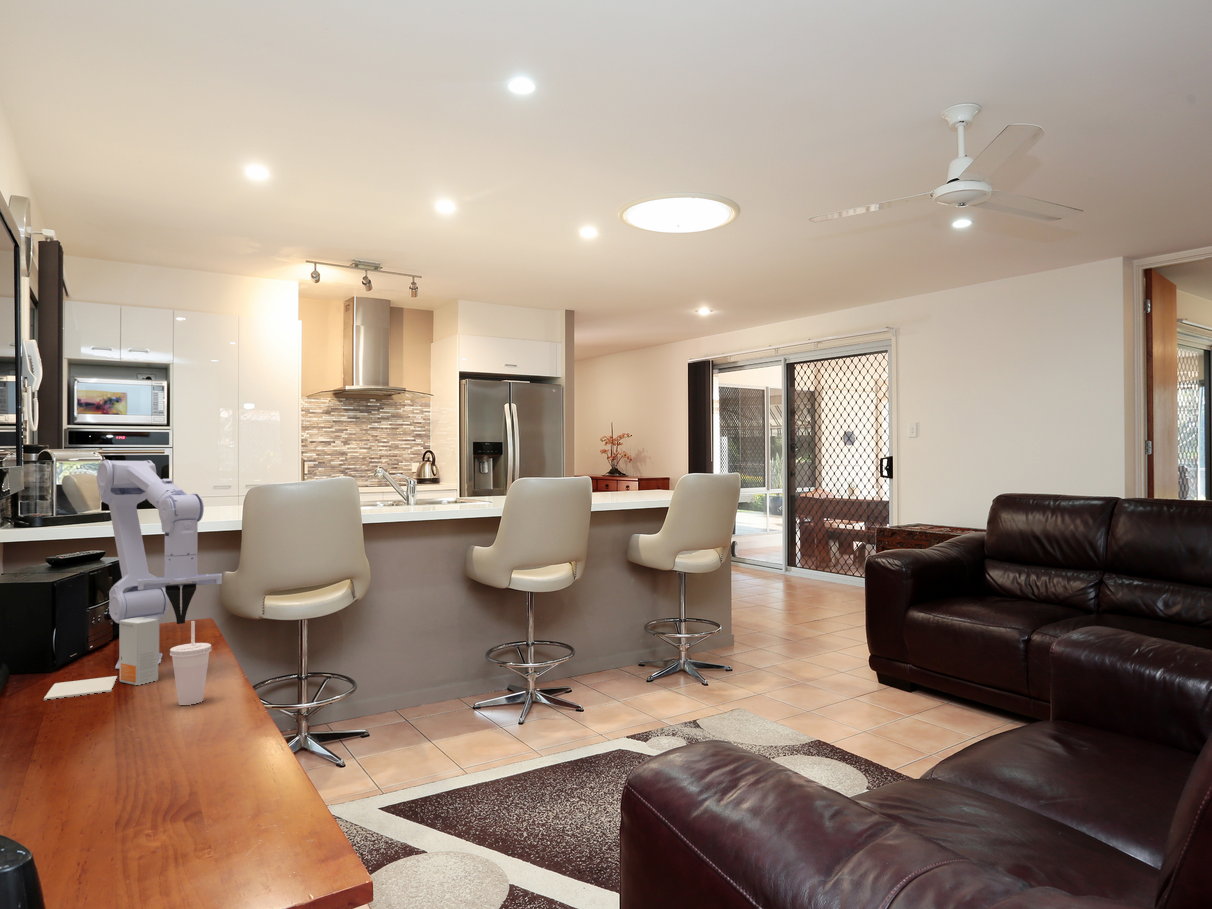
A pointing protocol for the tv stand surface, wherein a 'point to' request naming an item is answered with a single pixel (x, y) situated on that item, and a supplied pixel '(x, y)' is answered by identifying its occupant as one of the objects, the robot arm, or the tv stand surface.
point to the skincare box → (138, 650)
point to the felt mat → (81, 687)
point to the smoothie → (190, 669)
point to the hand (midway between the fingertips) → (180, 623)
